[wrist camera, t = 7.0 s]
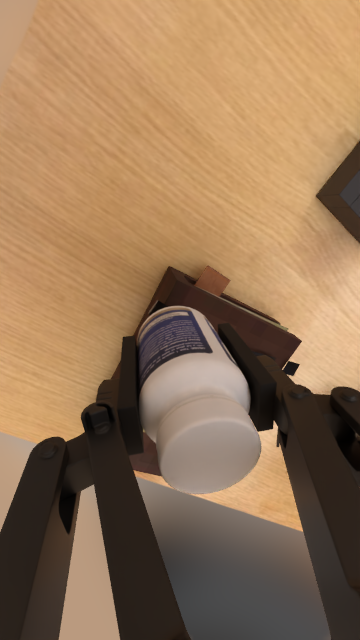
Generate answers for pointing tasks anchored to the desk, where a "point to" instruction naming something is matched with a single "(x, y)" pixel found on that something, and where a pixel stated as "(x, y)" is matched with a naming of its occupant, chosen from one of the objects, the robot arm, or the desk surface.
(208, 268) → the decorative book
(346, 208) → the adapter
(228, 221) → the desk surface
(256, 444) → the pill bottle
